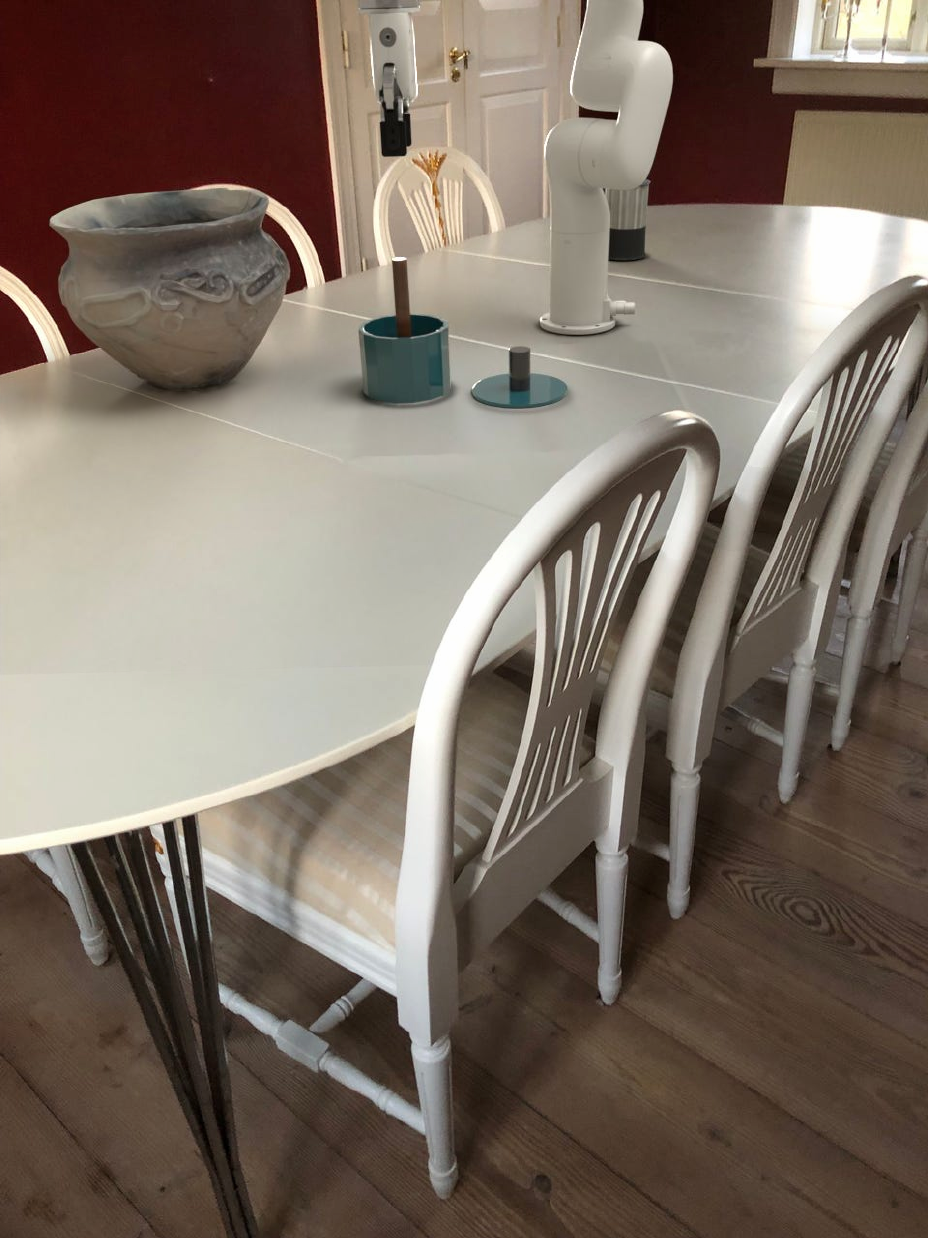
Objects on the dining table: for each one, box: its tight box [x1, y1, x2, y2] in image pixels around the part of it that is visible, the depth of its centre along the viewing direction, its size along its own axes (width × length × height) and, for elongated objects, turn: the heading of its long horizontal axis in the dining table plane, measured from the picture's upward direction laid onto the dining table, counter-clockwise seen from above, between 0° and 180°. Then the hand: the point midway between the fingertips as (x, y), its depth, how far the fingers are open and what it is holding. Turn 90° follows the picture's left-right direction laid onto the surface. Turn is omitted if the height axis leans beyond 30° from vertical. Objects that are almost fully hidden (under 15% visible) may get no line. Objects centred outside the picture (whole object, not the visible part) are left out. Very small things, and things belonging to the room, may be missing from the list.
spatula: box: [391, 256, 411, 338], centre depth 144 cm, size 2×6×18 cm, turn 0°
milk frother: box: [603, 178, 651, 262], centre depth 211 cm, size 14×16×15 cm
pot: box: [358, 313, 452, 404], centre depth 146 cm, size 12×12×10 cm
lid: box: [471, 345, 569, 409], centre depth 144 cm, size 13×13×7 cm
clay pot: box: [49, 187, 291, 392], centre depth 151 cm, size 33×32×25 cm
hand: (397, 150), depth 136 cm, fingers open, 9 cm apart
